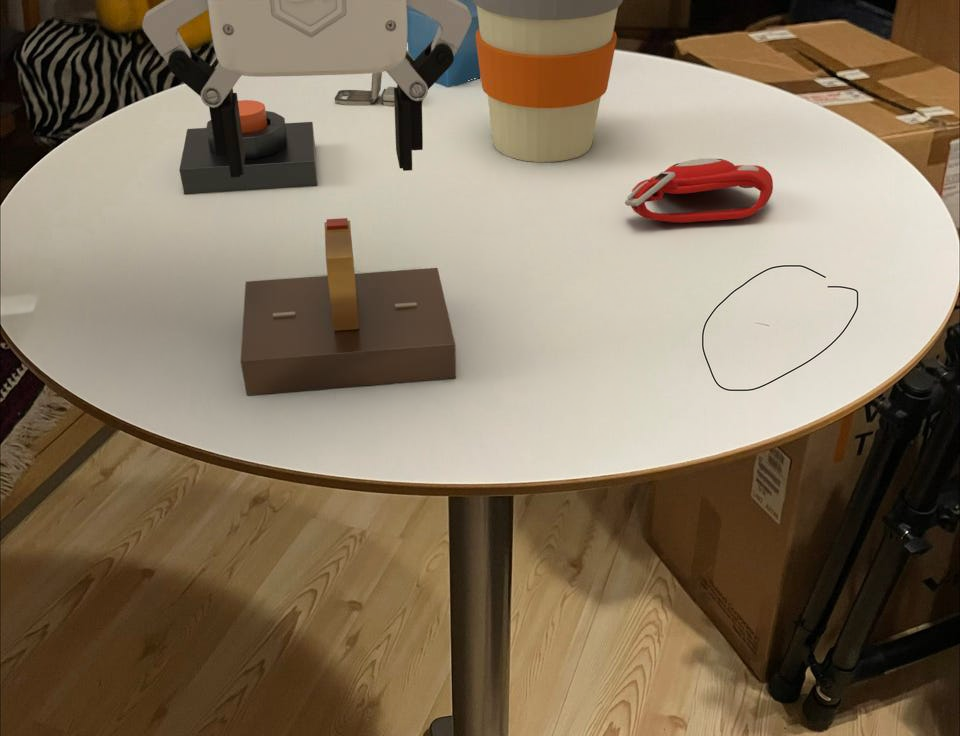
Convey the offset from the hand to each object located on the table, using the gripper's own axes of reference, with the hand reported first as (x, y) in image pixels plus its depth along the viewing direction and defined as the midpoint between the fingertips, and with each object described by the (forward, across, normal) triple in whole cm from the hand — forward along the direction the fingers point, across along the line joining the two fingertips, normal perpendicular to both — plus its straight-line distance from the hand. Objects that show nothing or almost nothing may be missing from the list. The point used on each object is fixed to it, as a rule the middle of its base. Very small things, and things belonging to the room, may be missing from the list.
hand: (321, 164), depth 61 cm
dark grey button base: (+12, -6, +30) cm, 33 cm away
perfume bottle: (+12, +14, +52) cm, 55 cm away
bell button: (+9, -6, +30) cm, 32 cm away
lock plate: (+12, +1, 0) cm, 12 cm away
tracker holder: (+12, +29, +17) cm, 35 cm away
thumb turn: (+10, +1, 0) cm, 10 cm away
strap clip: (+12, +6, +45) cm, 47 cm away
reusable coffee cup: (+12, +20, +32) cm, 39 cm away
